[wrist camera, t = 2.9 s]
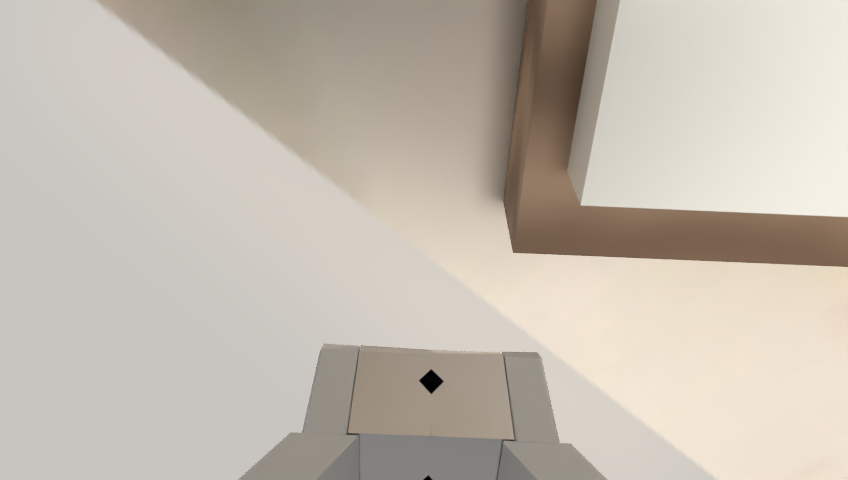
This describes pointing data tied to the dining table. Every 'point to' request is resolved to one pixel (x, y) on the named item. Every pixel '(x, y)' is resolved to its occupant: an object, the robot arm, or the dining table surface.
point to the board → (620, 226)
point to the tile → (715, 107)
